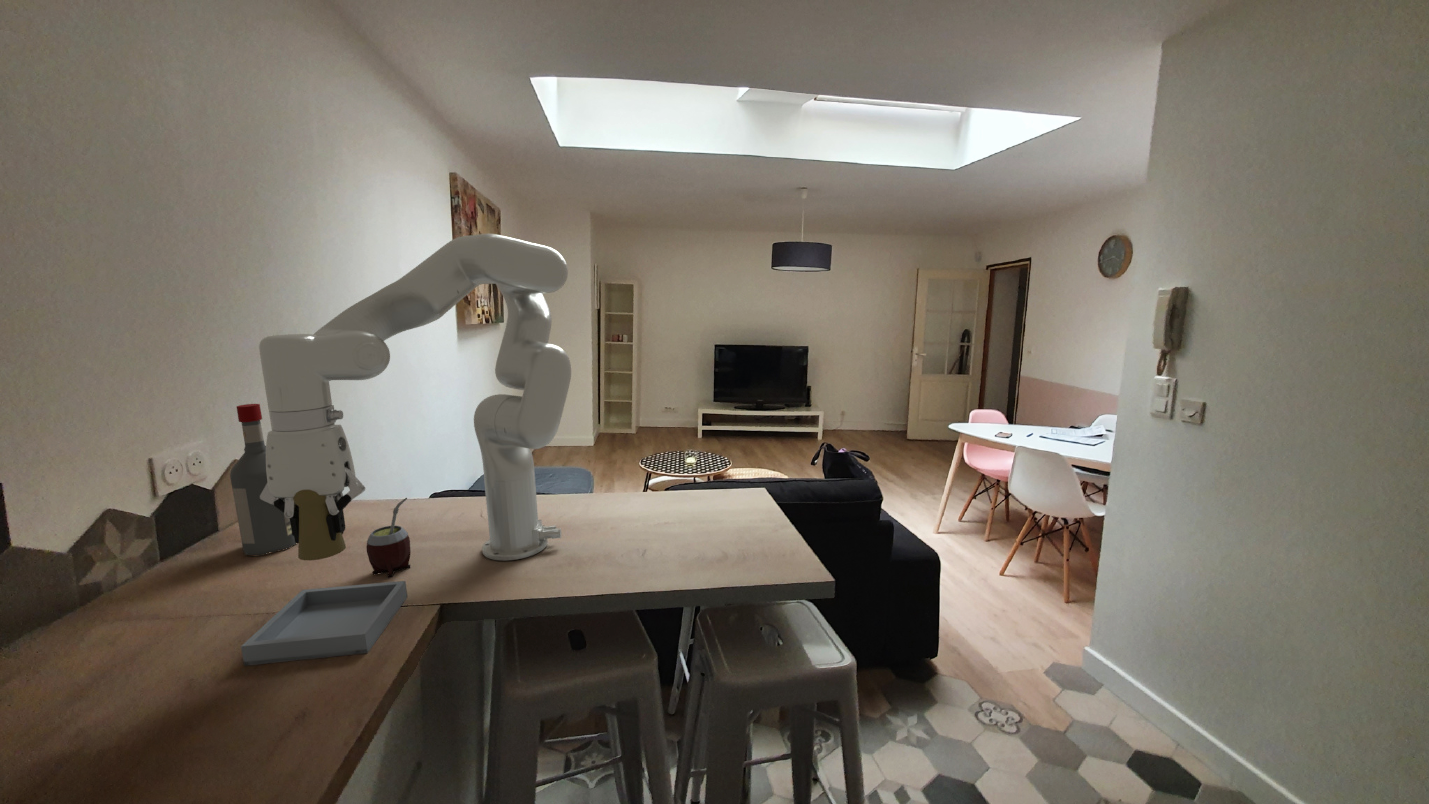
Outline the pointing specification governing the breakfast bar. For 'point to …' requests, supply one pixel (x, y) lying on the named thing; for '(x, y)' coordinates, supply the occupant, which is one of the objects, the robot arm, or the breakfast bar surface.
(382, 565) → the mate gourd
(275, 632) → the tray
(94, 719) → the breakfast bar surface
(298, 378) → the robot arm
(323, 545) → the cork
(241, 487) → the liquor
